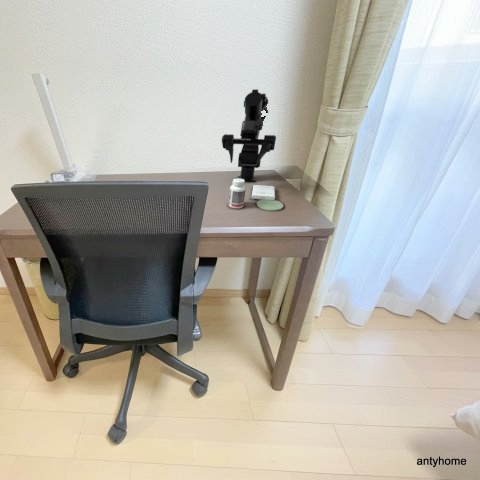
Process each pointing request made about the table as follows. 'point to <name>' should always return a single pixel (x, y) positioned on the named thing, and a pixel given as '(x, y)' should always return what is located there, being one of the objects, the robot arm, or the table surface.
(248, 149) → the robot arm
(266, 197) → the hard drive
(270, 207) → the coaster
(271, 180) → the table surface
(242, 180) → the pill bottle
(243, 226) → the table surface
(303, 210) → the table surface
